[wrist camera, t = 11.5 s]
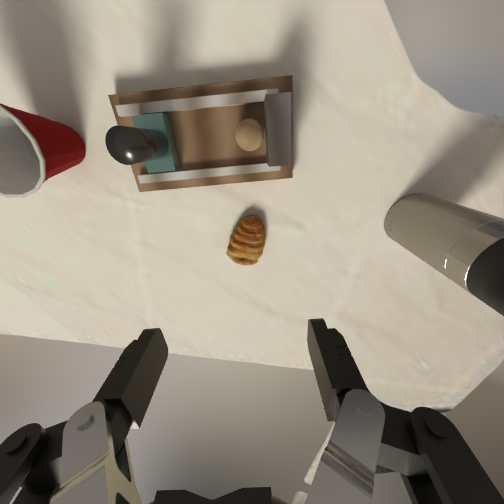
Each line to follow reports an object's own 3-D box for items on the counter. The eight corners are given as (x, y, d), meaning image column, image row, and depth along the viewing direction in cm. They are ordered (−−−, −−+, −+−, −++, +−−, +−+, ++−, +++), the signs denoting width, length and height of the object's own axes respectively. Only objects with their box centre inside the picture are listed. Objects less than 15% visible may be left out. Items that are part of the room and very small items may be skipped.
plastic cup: (56, 187, 37) (-23, 206, 26) (12, 113, 32) (-107, 100, 21) (115, 176, 36) (59, 190, 25) (81, 98, 31) (-7, 76, 20)
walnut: (262, 118, 31) (263, 115, 27) (263, 149, 33) (265, 150, 29) (234, 121, 31) (232, 118, 27) (237, 151, 33) (236, 153, 29)
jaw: (169, 115, 30) (131, 102, 20) (181, 168, 33) (153, 179, 24) (141, 117, 30) (90, 107, 20) (156, 170, 33) (117, 182, 24)
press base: (289, 79, 30) (300, 63, 24) (290, 175, 36) (298, 183, 30) (116, 97, 31) (82, 87, 25) (144, 189, 37) (123, 199, 31)
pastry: (236, 209, 39) (235, 216, 36) (271, 218, 40) (273, 225, 37) (226, 254, 43) (224, 263, 40) (258, 261, 44) (259, 271, 41)
